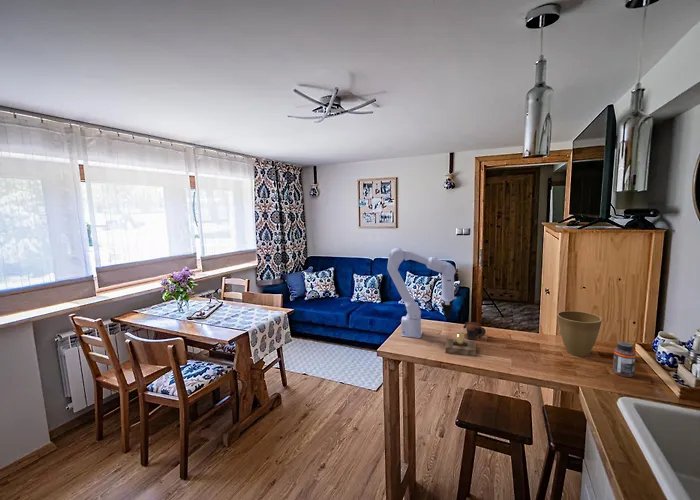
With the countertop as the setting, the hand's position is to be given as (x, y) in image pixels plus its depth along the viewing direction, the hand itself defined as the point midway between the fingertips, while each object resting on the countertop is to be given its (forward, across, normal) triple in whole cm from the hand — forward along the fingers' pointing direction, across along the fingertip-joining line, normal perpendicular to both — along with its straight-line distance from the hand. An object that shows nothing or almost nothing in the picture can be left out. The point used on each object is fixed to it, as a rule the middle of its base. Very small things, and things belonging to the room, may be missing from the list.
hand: (447, 315), depth 156 cm
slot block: (+10, -16, -6) cm, 20 cm away
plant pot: (+10, -7, -52) cm, 53 cm away
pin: (+10, -16, -6) cm, 20 cm away
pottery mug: (+10, 0, -12) cm, 16 cm away
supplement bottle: (+10, -22, -62) cm, 67 cm away
